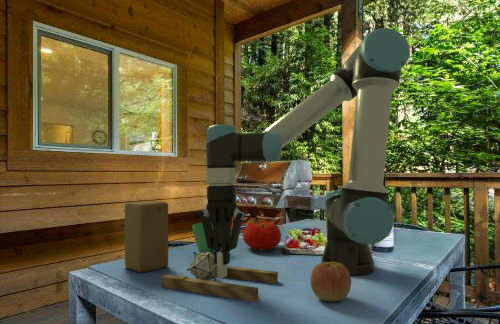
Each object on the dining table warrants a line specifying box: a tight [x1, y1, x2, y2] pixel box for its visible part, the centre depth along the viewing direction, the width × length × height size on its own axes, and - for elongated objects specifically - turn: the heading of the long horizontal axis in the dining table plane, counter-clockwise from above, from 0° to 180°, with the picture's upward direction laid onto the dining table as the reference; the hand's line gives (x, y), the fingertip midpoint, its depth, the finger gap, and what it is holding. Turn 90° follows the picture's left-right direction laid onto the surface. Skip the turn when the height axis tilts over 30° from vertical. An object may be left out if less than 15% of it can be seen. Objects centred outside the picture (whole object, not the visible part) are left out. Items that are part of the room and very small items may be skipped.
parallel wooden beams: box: [160, 262, 279, 303], centre depth 85 cm, size 26×18×4 cm
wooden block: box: [124, 200, 169, 274], centre depth 101 cm, size 10×10×20 cm
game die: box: [186, 249, 217, 282], centre depth 86 cm, size 9×8×10 cm
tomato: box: [242, 221, 282, 252], centre depth 124 cm, size 14×16×10 cm
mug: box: [192, 222, 214, 254], centre depth 121 cm, size 15×10×10 cm
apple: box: [310, 262, 352, 302], centre depth 73 cm, size 9×9×8 cm
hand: (222, 276), depth 84 cm, fingers closed
